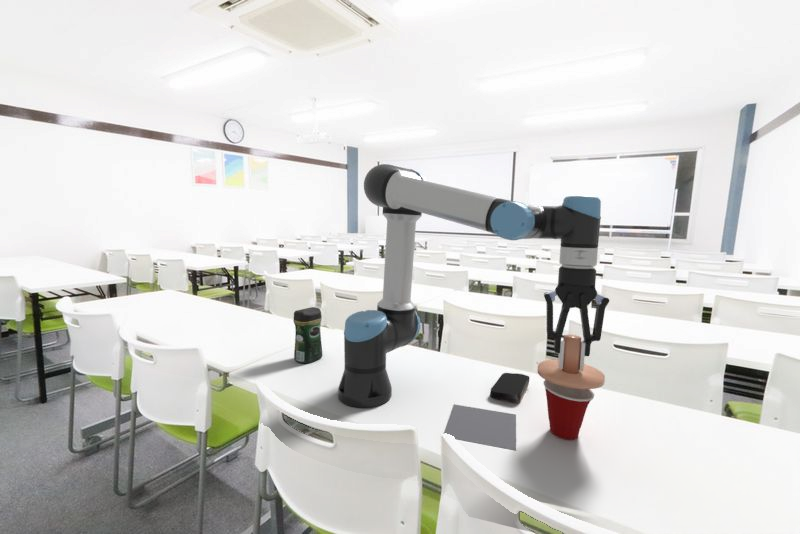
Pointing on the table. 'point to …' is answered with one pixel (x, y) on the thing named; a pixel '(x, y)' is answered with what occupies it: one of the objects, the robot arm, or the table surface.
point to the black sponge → (510, 387)
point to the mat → (482, 426)
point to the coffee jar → (307, 335)
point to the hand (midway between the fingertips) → (570, 367)
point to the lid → (571, 368)
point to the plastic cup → (566, 409)
